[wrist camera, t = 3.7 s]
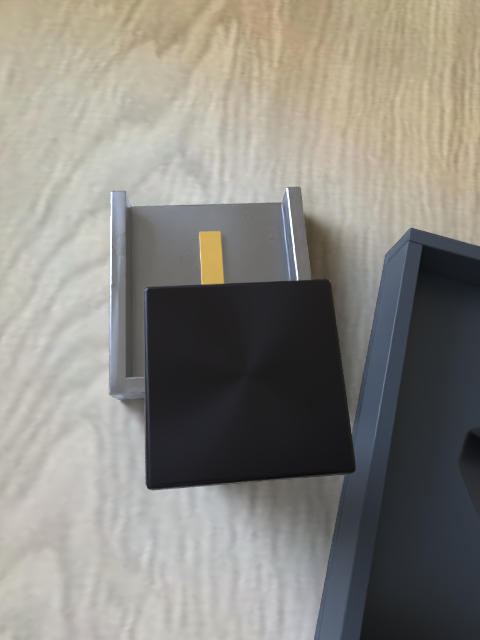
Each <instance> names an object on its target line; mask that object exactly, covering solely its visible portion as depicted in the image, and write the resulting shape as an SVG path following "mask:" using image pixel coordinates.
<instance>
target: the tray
mask: <svg viewBox="0 0 480 640" xmlns="http://www.w3.org/2000/svg"><path fill="white" fill-rule="evenodd" d="M471 428H480V247H479V246H476V245H472V244H469V243H465V242H461V241H458V240H454V239H450V238H447V237H443V236H439V235H436V234H432V233H428V232H425V231H421V230H417V229H414V228H410V229H409V230H408V231H407V232H406V233H405V234H404V235H403V236H402V238H401V239H400V240H399V241H398V242H397V243H396V244H395V245H394V246H393V247H392V248H391V250H390V251H389V252H388V253H387V254H386V255H385V261H384V266H383V271H382V277H381V282H380V288H379V293H378V298H377V304H376V309H375V314H374V320H373V325H372V331H371V336H370V341H369V347H368V352H367V357H366V363H365V368H364V374H363V379H362V384H361V390H360V395H359V400H358V406H357V411H356V417H355V422H354V427H353V433H352V441H353V448H354V456H355V463H356V470H355V472H354V473H352V474H345V476H344V481H343V486H342V492H341V497H340V503H339V508H338V513H337V519H336V524H335V530H334V535H333V540H332V546H331V551H330V556H329V562H328V567H327V573H326V578H325V583H324V589H323V594H322V599H321V605H320V610H319V616H318V621H317V626H316V632H315V637H314V640H480V518H479V516H478V514H477V511H476V509H475V507H474V504H473V502H472V500H471V497H470V495H469V493H468V490H467V488H466V485H465V483H464V481H463V478H462V476H461V474H460V471H459V467H458V457H459V454H460V451H461V448H462V445H463V442H464V439H465V436H466V433H467V431H469V430H470V429H471Z"/></svg>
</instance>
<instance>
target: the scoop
mask: <svg viewBox="0 0 480 640" xmlns="http://www.w3.org/2000/svg"><path fill="white" fill-rule="evenodd" d="M210 231H221V240H222V255H223V270H224V284H202V279H201V259H200V240H199V232H210ZM109 395H110V396H112V397H114V398H116V399H118V400H127V399H142V398H145V469H146V486H147V488H148V489H150V490H162V489H174V488H187V487H199V486H211V485H223V484H235V483H248V482H260V481H272V480H284V479H297V478H309V477H321V476H333V475H345V474H352V473H354V472H355V470H356V463H355V456H354V448H353V441H352V434H351V426H350V419H349V412H348V404H347V397H346V390H345V382H344V375H343V368H342V360H341V353H340V346H339V338H338V331H337V324H336V316H335V309H334V302H333V294H332V287H331V283H330V281H329V280H327V279H317V280H312V276H311V268H310V260H309V252H308V244H307V236H306V228H305V220H304V212H303V204H302V196H301V188H300V187H287V188H286V191H285V194H284V198H283V201H282V203H247V204H210V205H174V206H137V207H131V205H130V202H129V199H128V196H127V193H126V191H111V235H110V344H109Z"/></svg>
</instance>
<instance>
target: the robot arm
mask: <svg viewBox="0 0 480 640" xmlns="http://www.w3.org/2000/svg"><path fill="white" fill-rule="evenodd" d="M458 467H459V471H460V474H461V476H462V478H463V481H464V483H465V485H466V488H467V490H468V493H469V495H470V497H471V500H472V502H473V504H474V507H475V509H476V511H477V514H478V516H479V518H480V428H471V429H470V430H469V431H467V433H466V436H465V439H464V442H463V445H462V448H461V451H460V454H459V457H458Z"/></svg>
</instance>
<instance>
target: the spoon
mask: <svg viewBox="0 0 480 640" xmlns="http://www.w3.org/2000/svg"><path fill="white" fill-rule="evenodd" d="M199 240H200V259H201V279H202V284H224V270H223V255H222V240H221V231H210V232H199Z"/></svg>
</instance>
